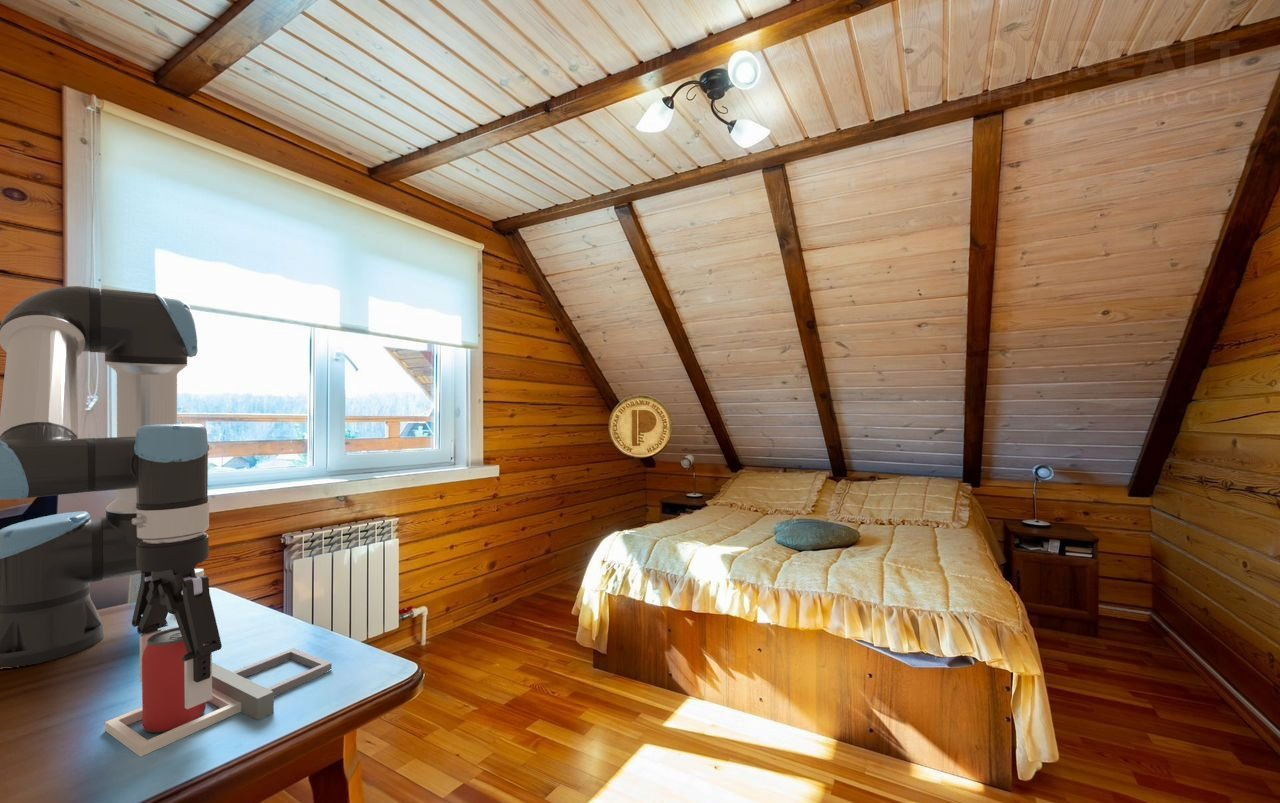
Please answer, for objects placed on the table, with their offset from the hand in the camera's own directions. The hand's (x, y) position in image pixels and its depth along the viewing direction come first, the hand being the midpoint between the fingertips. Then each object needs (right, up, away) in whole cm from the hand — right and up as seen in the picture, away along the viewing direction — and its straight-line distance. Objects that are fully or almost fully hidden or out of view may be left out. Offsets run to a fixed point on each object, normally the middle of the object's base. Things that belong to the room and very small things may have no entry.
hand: (174, 690), depth 74 cm
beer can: (0, -4, 0) cm, 4 cm away
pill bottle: (-31, -4, +41) cm, 51 cm away
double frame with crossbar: (+3, -4, +6) cm, 8 cm away
